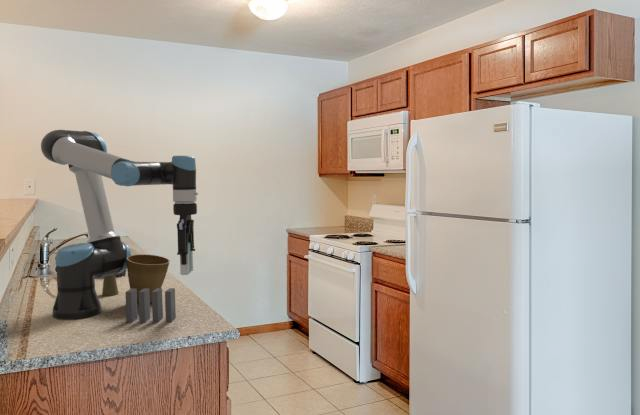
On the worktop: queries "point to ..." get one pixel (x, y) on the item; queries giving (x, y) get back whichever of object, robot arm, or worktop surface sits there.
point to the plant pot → (146, 272)
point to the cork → (110, 286)
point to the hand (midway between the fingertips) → (186, 272)
